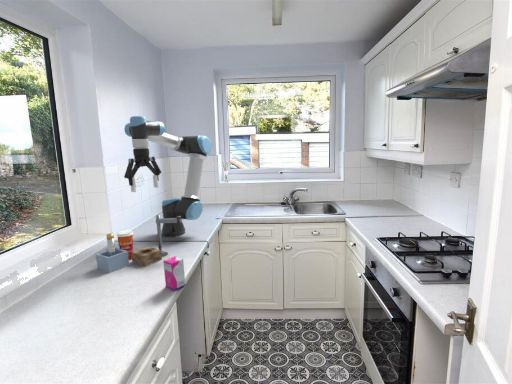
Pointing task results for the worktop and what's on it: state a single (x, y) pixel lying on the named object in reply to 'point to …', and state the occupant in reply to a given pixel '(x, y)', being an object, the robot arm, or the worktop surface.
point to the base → (164, 253)
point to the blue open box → (112, 260)
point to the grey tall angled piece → (158, 220)
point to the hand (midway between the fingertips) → (145, 189)
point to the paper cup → (126, 241)
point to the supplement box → (174, 273)
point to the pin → (110, 244)
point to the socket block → (146, 256)
